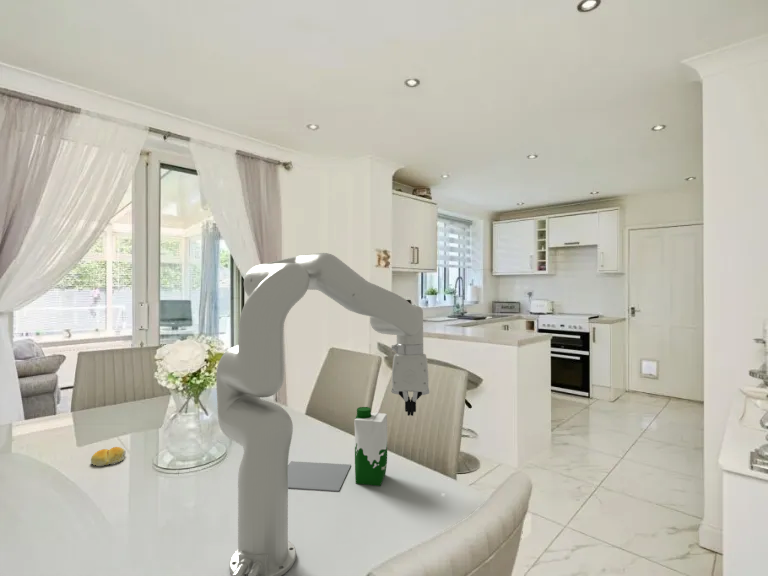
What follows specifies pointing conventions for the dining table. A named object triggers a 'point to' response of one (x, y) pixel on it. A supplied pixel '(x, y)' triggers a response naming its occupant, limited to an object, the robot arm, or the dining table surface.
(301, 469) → the placemat
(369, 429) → the white and green box
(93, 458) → the bread roll
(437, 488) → the dining table surface
